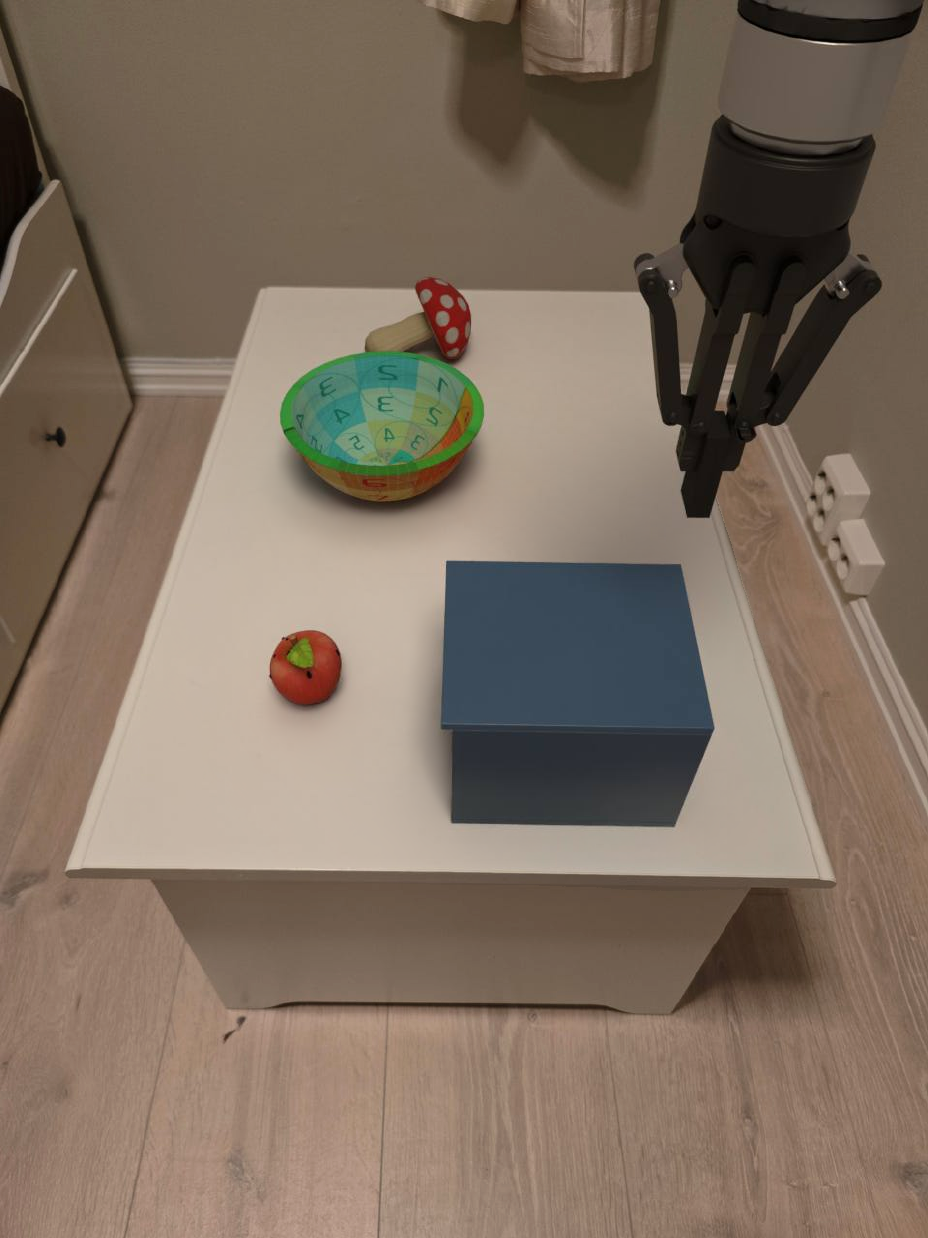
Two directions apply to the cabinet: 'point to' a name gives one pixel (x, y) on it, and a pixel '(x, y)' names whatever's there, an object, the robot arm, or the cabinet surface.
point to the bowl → (382, 422)
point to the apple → (306, 667)
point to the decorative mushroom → (428, 322)
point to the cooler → (572, 777)
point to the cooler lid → (571, 649)
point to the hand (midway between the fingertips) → (694, 503)
